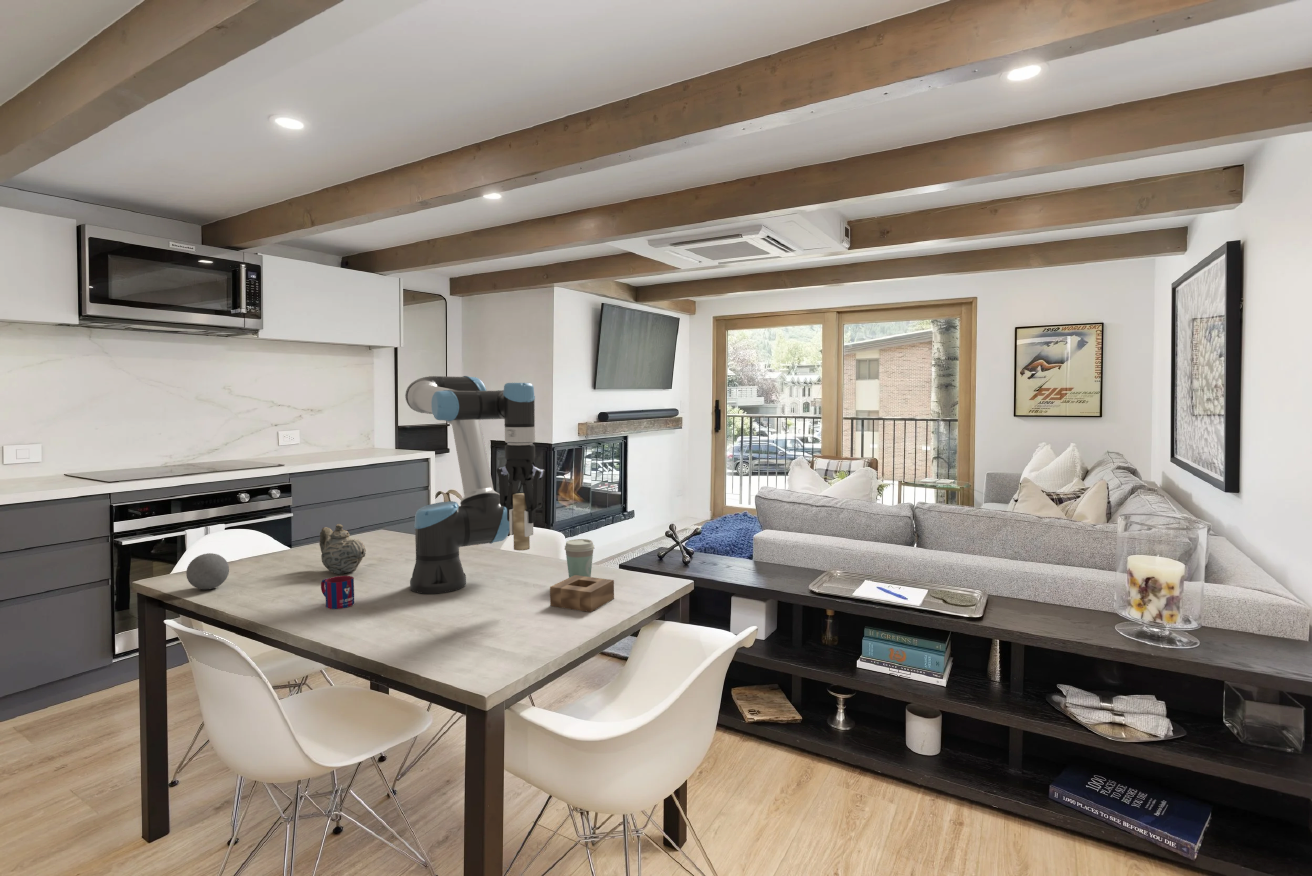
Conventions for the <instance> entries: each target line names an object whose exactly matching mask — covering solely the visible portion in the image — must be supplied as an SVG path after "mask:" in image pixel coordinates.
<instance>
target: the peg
mask: <svg viewBox="0 0 1312 876" xmlns="http://www.w3.org/2000/svg"><path fill="white" fill-rule="evenodd" d="M525 509H527V507H526V501H525V496H524V492H521V493H518V492H517V494H513V534H514V535H513V550H514V551H518V552H519V551H528V550H530V548H531V547H530V546H531V545H530V543H531V542H530V541H531V540H530V539H531V538H530V537H531V536H528V537H525V527H524V511H526V510H525Z"/></svg>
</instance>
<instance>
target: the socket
mask: <svg viewBox="0 0 1312 876" xmlns="http://www.w3.org/2000/svg"><path fill="white" fill-rule="evenodd" d="M549 597H550V598H549V600H550V601H549V603H550V604H549V605H550V607H554V608H561V609H568V610H574V611H582V612H587V613H593V612H595V610H597V609H599V608H601V607H602V606H604V605H606V604H607V603H609V602H611V601H612V600H614V599H615V580H614V579H608V578H601V577H592V576H591V577H586V576H578V575H574V576H572V577H570V578H569V577H568V578H566V579H564V580H562V581H559V582H557V583H555V584H553V585H550V586H549Z"/></svg>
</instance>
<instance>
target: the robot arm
mask: <svg viewBox="0 0 1312 876" xmlns="http://www.w3.org/2000/svg"><path fill="white" fill-rule="evenodd" d="M404 397H405V401H406V404H407V406H409V408H410V409H412V410H413V411H414V412H417V413H421V414H429V415H433V418H434V419H435V420H437V421H444V422H445V421H446V423H448V424H449V425H451V429H452V432H453V439H454V443H455V450H456V456H457V460H458V465H459V472H460V478H461V483H462V488H463V489H462V491H463V495H464V496H463V497H462V499H461V500H460V505H459V503H458V502H457V501H449V500H448V501H440V502H435V503H431V504H427V505H424V506H422V507H419V508H418V509H417V510H416V512H415V515H414V525H413V527H414V533H415V535H414V537H415V540H414V541H415V564H414V567H413V571H412V576H411V578H410V580H409V589H410V591H412V592H413V593H417V594H427V595H429V594H430V595H431V594H443V593H448V592H453V591H454V592H455V591H457V590H461V589H462V588H465V586H466V585H467V575H466V573H465V572H464V569H463V565H462V562H461V559H460V548H461V547H469V546H478V545H486V544H493V543H499V542H503V541H504V540H505V539H507V538H508V535H509V536H514V534H513V494H518V492H519V485H520V484H521V486H522V490H523V493H524V496H525V501H526V507H527V509H525V510H526V511H524V527H525V537H528V536H529V537H531V536H533V535H534V523H535V522H536V511H537V509H540V508H542V507H543V492H544V491H543V487H544V486H543V485H544V482H543V481H544V476H545V474H546V470H545V469H543V468H538V467H537V466H536V463H535V458H536V445H535V444H533V443H535V442H536V426H535V424H536V423H535V421H536V420H535V419H536V417H535V409H536V408H535V407H536V406H535V401H536V395H535V387H534V384H533V383H530V382H506V383H505V384H504V385H503V390H487V389H486V386H485V384H484V382H483V381H482V380H481V379H480V378H479V377H476V376H475V377H474V376H468V375H463V376H443V375H442V376H438V375H437V376H436V375H435V376H434V375H433V376H432V375H431V376H430V375H429V376H425V377H423V376H422V377H421V378H417V379H416V380H414V381H412V382H411V383H410V384H409V385H408V386H407V388H406V391H405V395H404ZM481 420H483V421H484V420H504V442H505V443H507V444H506V445H504V459H506V461H505V465H504V466H502V467H498V468H496V473H497V476H498V488H499V489H498V491H499V492H497V491H496V490H494V484H493V479H492V475H491V469H490V463H489V459H488V453H487V448H486V444H485V443H486V442H485V439H484V438H485V437H484V433H483V428H482V427H483V426H482V422H481Z"/></svg>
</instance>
